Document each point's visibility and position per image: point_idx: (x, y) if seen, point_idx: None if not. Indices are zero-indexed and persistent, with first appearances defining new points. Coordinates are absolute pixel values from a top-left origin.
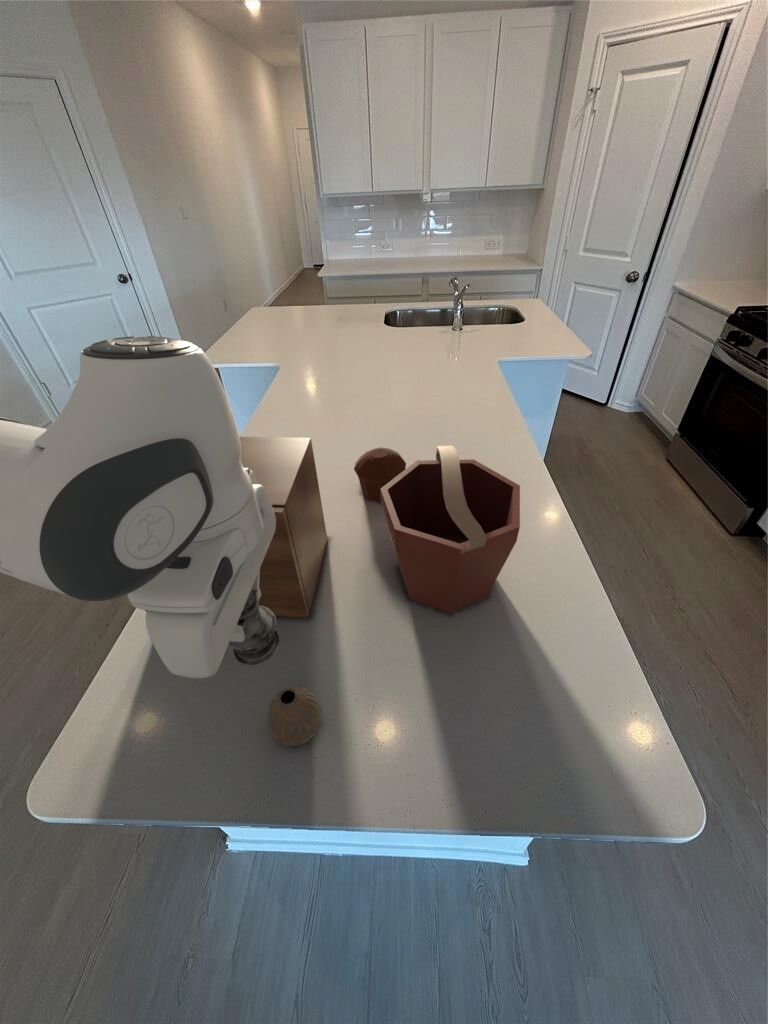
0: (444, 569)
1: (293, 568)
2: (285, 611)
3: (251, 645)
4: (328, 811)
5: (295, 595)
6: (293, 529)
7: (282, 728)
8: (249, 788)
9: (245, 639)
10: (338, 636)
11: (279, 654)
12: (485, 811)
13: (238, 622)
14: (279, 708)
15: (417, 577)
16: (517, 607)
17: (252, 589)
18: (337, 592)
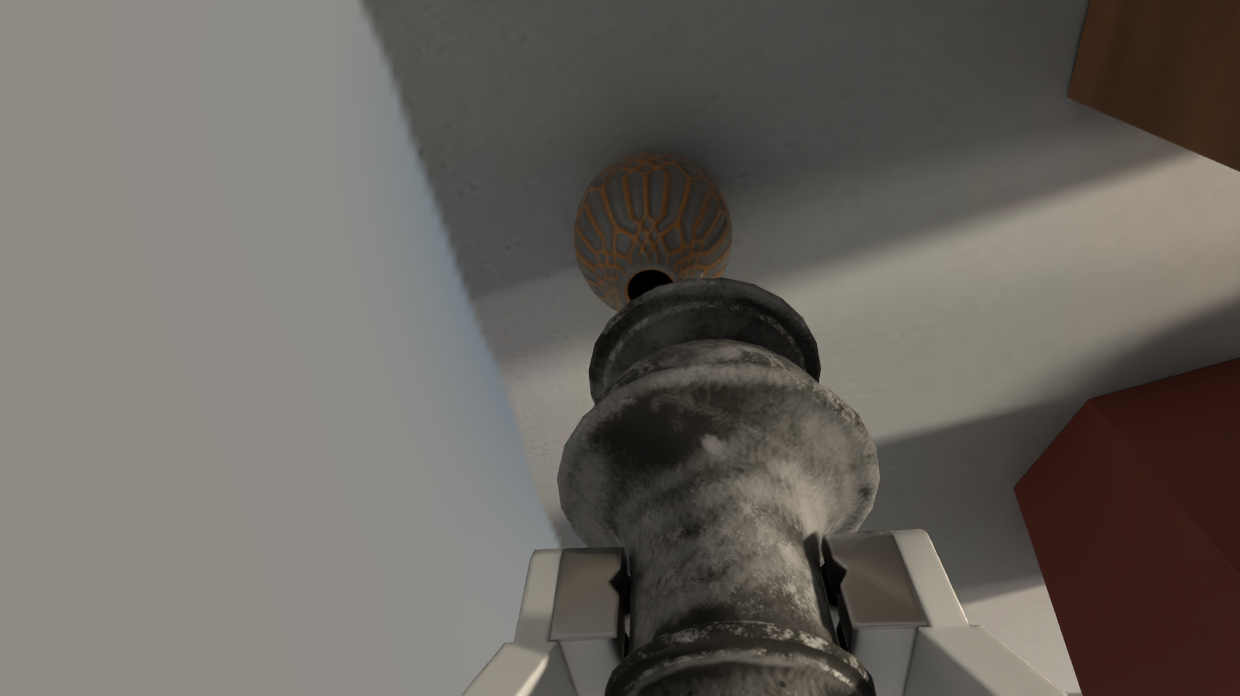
0: (1111, 675)
1: None
2: (1110, 8)
3: (595, 539)
4: (494, 325)
5: (1167, 102)
6: None
7: (582, 258)
8: (473, 132)
9: (609, 532)
10: (963, 230)
11: (899, 44)
12: (579, 545)
13: (607, 681)
14: (617, 265)
15: (1130, 528)
16: (1009, 596)
17: (914, 683)
18: (1180, 174)
